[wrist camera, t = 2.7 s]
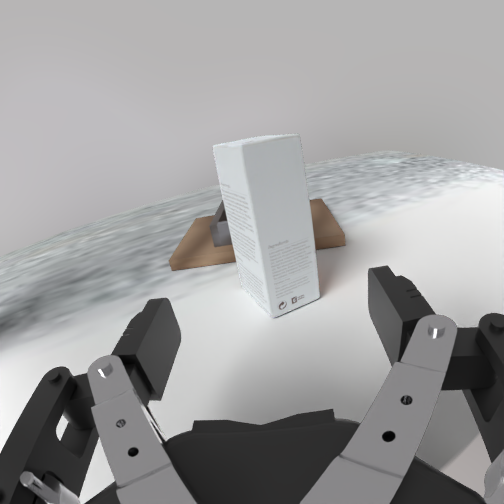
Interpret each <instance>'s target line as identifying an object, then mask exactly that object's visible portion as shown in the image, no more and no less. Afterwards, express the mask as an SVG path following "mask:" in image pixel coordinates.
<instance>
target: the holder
mask: <svg viewBox="0 0 504 504" xmlns="http://www.w3.org/2000/svg"><path fill="white" fill-rule="evenodd" d="M310 208H311V216H312V224H313V232H314V241H315V250H317V249H324V248H331V247H337V246H344V245H345V234H344V233H343V231H342V229H341V228H340V226H339V225H338V223H337V222H336V220H335V219H334V217H333V215H332V214H331V212H330V211H329V209H328V208H327V206H326V205H325V203H324V202H323V200H322V199H314V200H310ZM229 262H236V258H235V253H234V249H233V244H232V239H231V235H230V230H229V225H228V221H227V216H226V211H225V207H224V202H223V200H222V202H221V204H220V206H219V208H218V210H217V212H216V214H215V215H213V216H208V217H202V218H196V219H195V221H194V222H193V224H192V225H191V227H190V228H189V230H188V232H187V233H186V235H185V236H184V238H183V239H182V241H181V242H180V244H179V245H178V247H177V249H176V250H175V252H174V253H173V255H172V256H171V258H170V260H169V263H170V266H171V269H172V271H174V270H181V269H188V268H195V267H202V266H209V265H216V264H223V263H229Z"/></svg>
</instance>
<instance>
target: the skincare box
mask: <svg viewBox="0 0 504 504" xmlns="http://www.w3.org/2000/svg"><path fill="white" fill-rule="evenodd" d="M213 153H214V158H215V162H216V168H217V173H218V178H219V182H220V188H221V193H222V197H223V202H224V207H225V211H226V216H227V221H228V225H229V230H230V235H231V239H232V244H233V249H234V253H235V258H236V262H237V267H238V272H239V276H240V281H241V285H242V287H243V288H244V289H245V290H246V292H247V293H248V294H249V295H250V296H251V297H252V298H253V299H254V300H255V301H256V302H257V303H258V304H259V305H260V306H261V307H262V308H263V309H264V310H265V311H266V312H267V313H268V314H269V315H270V316H271V317H272V318H275V317H278V316H280V315H282V314H285V313H287V312H289V311H291V310H294V309H296V308H298V307H300V306H303V305H305V304H307V303H310V302H312V301H314V300H316V299H318V298H319V297H320V290H319V279H318V269H317V259H316V250H315V241H314V232H313V224H312V216H311V208H310V200H309V193H308V186H307V179H306V172H305V165H304V159H303V153H302V146H301V140H300V135H299V134H287V135H270V136H259V137H253V138H248V139H243V140H238V141H233V142H228V143H222V144H218V145H214V146H213Z"/></svg>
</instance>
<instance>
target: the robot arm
mask: <svg viewBox="0 0 504 504" xmlns="http://www.w3.org/2000/svg"><path fill="white" fill-rule="evenodd" d="M368 307H369V313H370V317H371V319H372V321H373V324H374V326H375V328H376V330H377V333H378V335H379V337H380V339H381V342H382V344H383V346H384V349H385V351H386V353H387V356H388V358H389V360H390V363H391V365H392V369H391V371H390V373H389V375H388V376H387V378H386V380H385V382H384V384H383V386H382V388H381V390H380V391H379V393H378V395H377V397H376V399H375V400H374V402H373V404H372V406H371V407H370V409H369V411H368V413H367V414H366V416H365V418H364V419H363V421H362V423H359V422H356V421H352V420H346V419H336V418H335V417H334V412H333V409H329V410H323V411H316V412H309V413H302V414H296V415H293V416H290V417H287V418H284V419H281V420H277V421H274V422H271V423H267V424H263V425H256V424H249V423H242V422H236V421H230V420H200V421H194V423H193V428H192V430H191V431H187V432H184V433H181V434H179V435H176V436H174V437H172V438H170V439H168V440H167V438H166V437H165V435H164V433H163V432H162V430H161V428H160V426H159V425H158V423H157V421H156V419H155V417H154V416H153V414H152V412H151V410H150V409H149V407H148V403H149V400H159V401H161V399H162V396H163V393H164V390H165V387H166V384H167V381H168V378H169V375H170V372H171V369H172V366H173V363H174V360H175V357H176V354H177V351H178V348H179V346H180V342H181V332H180V328H179V325H178V322H177V320H176V317H175V314H174V312H173V309H172V306H171V303H170V301H169V300H168V299H167V298H160V299H151V300H149V301H148V302H147V304H146V306H145V307H144V309H143V311H142V312H139V313H138V314H137V315H136V316H135V317H134V318H133V319H132V320H131V321H130V323H129V324H128V326H127V329H125V331H124V333H123V336H121V338H120V340H119V341H118V343H117V345H116V347H115V348H114V350H113V352H112V354H111V355H108V356H104V357H101V358H99V359H97V360H96V361H95V362H93V363H92V364H91V366H90V367H89V369H88V372H87V373H86V374H81V375H77V376H73V375H72V374H71V372H70V371H69V369H68V368H66V367H56V368H54V369H52V370H50V371H49V372H47V373H46V374H45V375H44V377H43V378H42V380H41V381H40V383H39V385H38V386H37V388H36V390H35V391H34V393H33V395H32V396H31V398H30V400H29V401H28V403H27V405H26V407H25V408H24V410H23V412H22V414H21V415H20V417H19V419H18V421H17V423H16V424H15V426H14V428H13V430H12V432H11V434H10V436H9V438H8V439H7V441H6V443H5V445H4V447H3V449H2V451H1V453H0V504H80V501H79V496H80V492H81V489H82V486H83V483H84V480H85V477H86V474H87V471H88V468H89V465H90V462H91V459H92V456H93V453H94V450H95V447H96V444H97V441H98V439H99V437H100V440H101V443H102V446H103V449H104V452H105V454H106V457H107V460H108V463H109V465H110V468H111V471H112V473H113V476H114V478H115V482H113V483H112V484H111V485H109V486H108V487H107V488H105V489H104V490H103V491H101V492H100V493H98V494H97V495H96V496H94V497H93V498H92V499H90V500H89V501H87V502H86V503H85V504H504V315H502V314H498V313H490V314H487V315H485V316H483V317H482V318H481V319H480V321H479V325H478V327H475V328H457V326H456V324H455V322H454V321H453V320H451V319H450V318H448V317H446V316H443V315H436V314H435V312H434V311H433V309H432V308H431V307H430V305H429V304H428V303H427V301H426V300H425V299H424V297H423V296H421V293H420V292H419V291H418V290H417V288H416V287H415V285H414V284H413V283H412V281H410V280H409V279H407V278H405V277H403V276H395V275H394V273H393V272H392V271H391V269H390V268H389V267H388V266H382V267H376V268H370V269H369V271H368ZM440 390H462V391H463V393H464V395H465V397H466V400H467V402H468V404H469V406H470V409H471V411H472V413H473V416H474V418H475V421H476V423H477V425H478V428H479V430H480V433H481V436H482V438H483V441H484V443H485V446H486V449H487V451H488V454H489V457H490V460H491V463H492V464H491V465H490V467H489V468H488V470H487V472H486V474H485V495H484V498H482V497H481V496H480V495H479V494H478V493H477V492H475V491H473V490H472V489H470V488H468V487H466V486H464V485H463V484H461V483H459V482H457V481H455V480H454V479H452V478H450V477H449V476H447V475H445V474H444V473H442V472H440V471H439V470H437V469H435V468H434V467H432V466H430V465H429V464H427V463H425V462H424V461H422V460H421V459H419V458H417V457H416V456H415V454H416V451H417V449H418V447H419V445H420V442H421V440H422V438H423V435H424V433H425V431H426V428H427V426H428V423H429V421H430V418H431V415H432V413H433V410H434V407H435V405H436V402H437V399H438V396H439V393H440ZM62 414H63V416H64V417H65V418H66V419H67V421H68V425H67V427H66V429H65V431H64V434H63V436H62V438H61V441H59V439H58V438H57V435H56V427H57V425H58V423H59V420H60V418H61V416H62Z"/></svg>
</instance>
